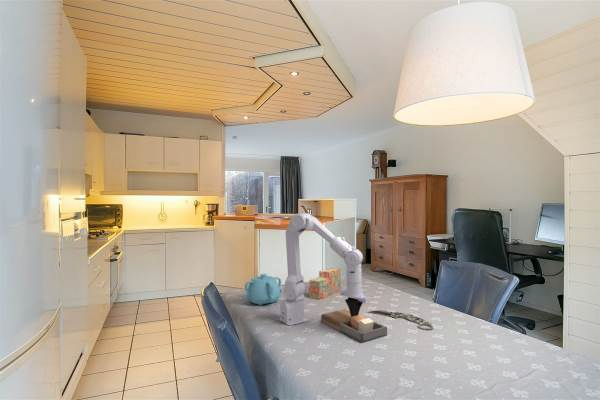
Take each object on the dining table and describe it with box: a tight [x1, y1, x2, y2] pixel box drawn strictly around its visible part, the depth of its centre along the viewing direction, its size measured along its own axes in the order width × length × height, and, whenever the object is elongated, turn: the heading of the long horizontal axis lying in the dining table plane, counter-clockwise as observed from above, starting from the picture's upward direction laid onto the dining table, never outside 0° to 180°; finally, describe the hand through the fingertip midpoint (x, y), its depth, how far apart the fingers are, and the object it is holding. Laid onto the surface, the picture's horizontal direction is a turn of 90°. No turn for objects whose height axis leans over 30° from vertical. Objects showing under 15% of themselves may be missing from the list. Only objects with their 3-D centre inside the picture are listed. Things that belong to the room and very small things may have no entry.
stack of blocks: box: [308, 267, 342, 300], centre depth 174 cm, size 21×6×12 cm, turn 143°
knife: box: [366, 310, 434, 331], centre depth 135 cm, size 28×2×10 cm
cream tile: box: [358, 317, 375, 333], centre depth 119 cm, size 4×4×3 cm
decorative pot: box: [243, 273, 283, 306], centre depth 162 cm, size 16×16×14 cm
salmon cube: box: [351, 314, 367, 329], centre depth 122 cm, size 4×4×3 cm
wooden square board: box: [320, 308, 353, 332], centre depth 131 cm, size 12×12×3 cm
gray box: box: [339, 317, 388, 344], centre depth 120 cm, size 12×12×3 cm
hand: (354, 318), depth 125 cm, fingers closed
